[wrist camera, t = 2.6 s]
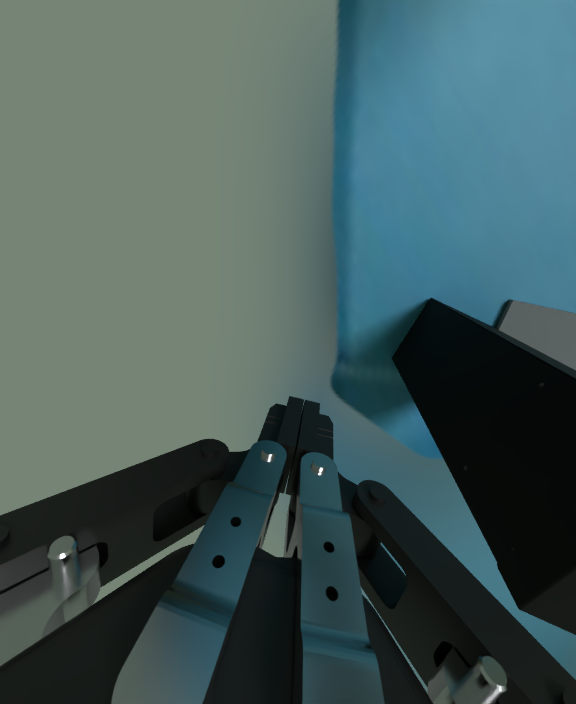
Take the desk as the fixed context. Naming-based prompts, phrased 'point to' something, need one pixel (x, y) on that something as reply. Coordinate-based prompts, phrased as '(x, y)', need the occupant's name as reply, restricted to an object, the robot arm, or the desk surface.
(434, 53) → the desk surface
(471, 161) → the desk surface
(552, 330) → the rubber mat
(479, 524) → the black rectangular bar
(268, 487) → the robot arm
